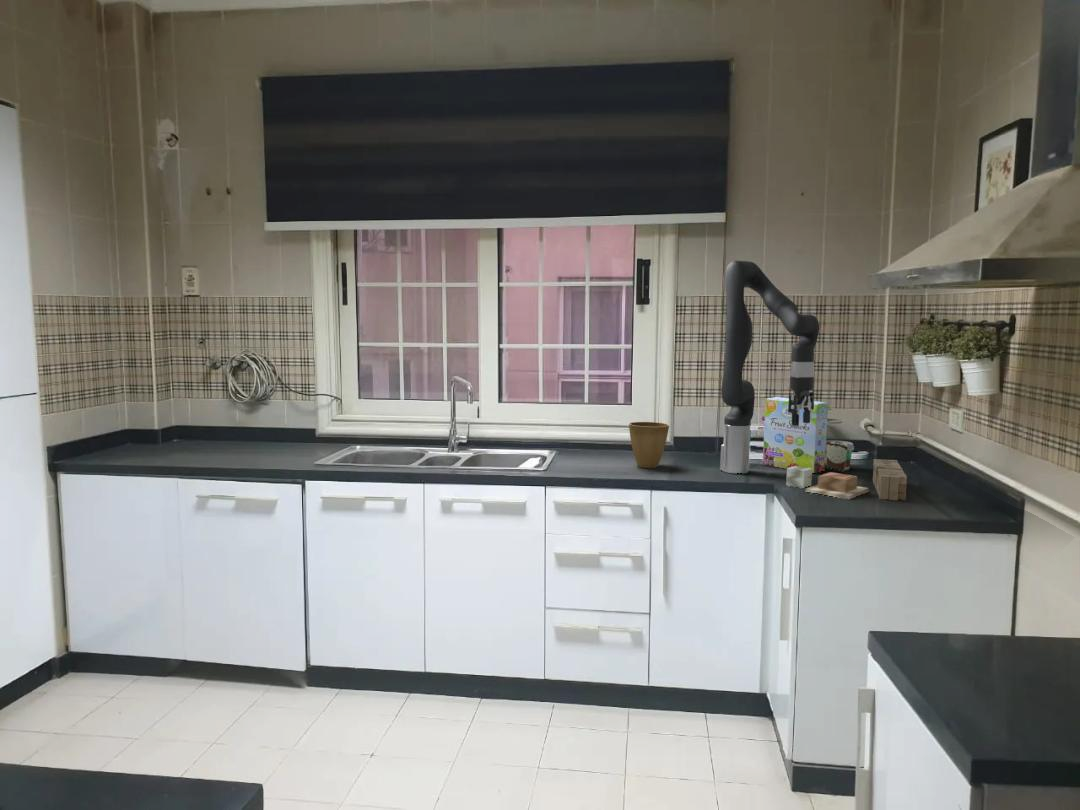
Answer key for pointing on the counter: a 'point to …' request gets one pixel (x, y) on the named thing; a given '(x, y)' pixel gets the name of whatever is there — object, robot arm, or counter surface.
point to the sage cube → (799, 476)
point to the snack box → (794, 436)
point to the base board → (838, 494)
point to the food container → (839, 454)
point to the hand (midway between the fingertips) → (800, 424)
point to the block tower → (889, 479)
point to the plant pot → (648, 442)
